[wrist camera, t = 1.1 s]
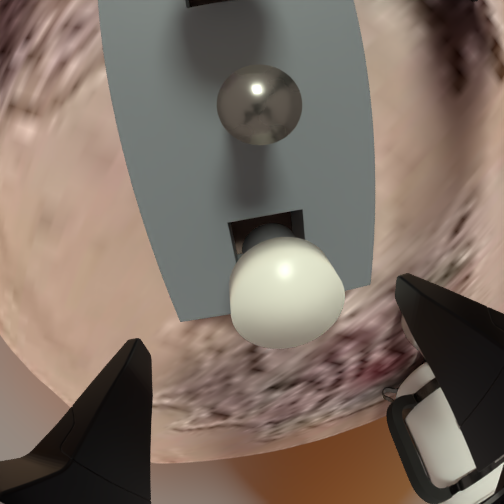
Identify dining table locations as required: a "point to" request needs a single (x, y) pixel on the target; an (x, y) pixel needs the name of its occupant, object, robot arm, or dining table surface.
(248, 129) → the metal screw
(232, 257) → the mount
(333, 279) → the knob
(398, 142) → the dining table surface
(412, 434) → the coffee press
